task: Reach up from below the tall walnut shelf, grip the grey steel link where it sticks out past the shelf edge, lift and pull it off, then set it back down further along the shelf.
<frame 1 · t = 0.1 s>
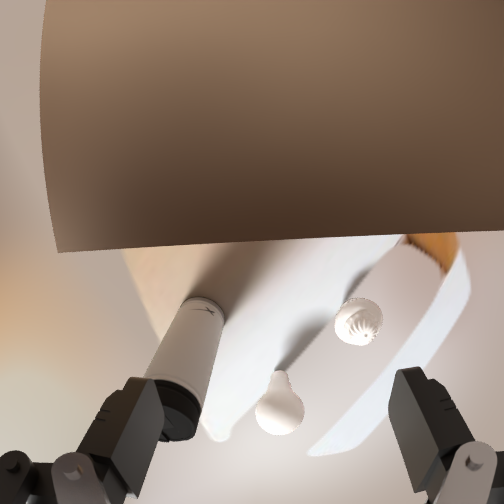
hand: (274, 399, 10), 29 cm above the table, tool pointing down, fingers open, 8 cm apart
white ridged dome: (352, 308, 41), on the table
lightbulb: (279, 372, 45), on the table
shelf: (272, 93, 33), on the table
travel mug: (201, 315, 42), on the table
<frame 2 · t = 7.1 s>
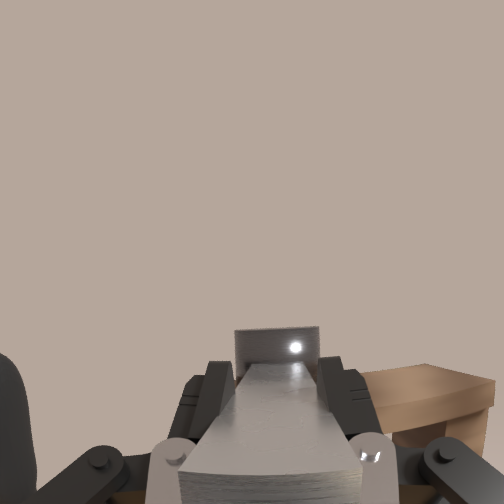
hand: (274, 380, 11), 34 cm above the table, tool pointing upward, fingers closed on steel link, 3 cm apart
steel link: (278, 387, 20), point 32 cm above the table, touching gripper, shelf
when the fingers open (35 cm above the table, at t = 15.4 s): steel link stays where it is, resting on shelf.
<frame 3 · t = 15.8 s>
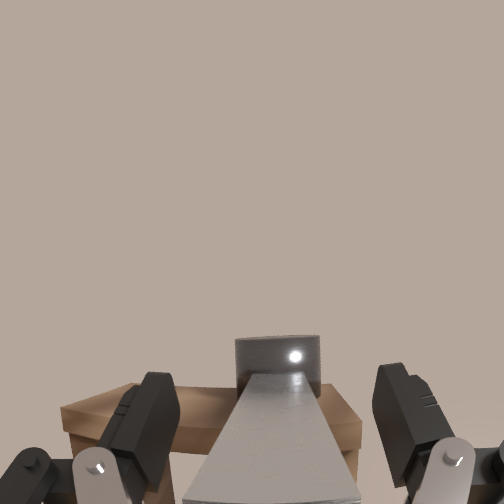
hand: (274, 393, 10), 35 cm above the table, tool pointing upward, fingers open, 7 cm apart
steel link: (279, 395, 20), point 32 cm above the table, touching shelf
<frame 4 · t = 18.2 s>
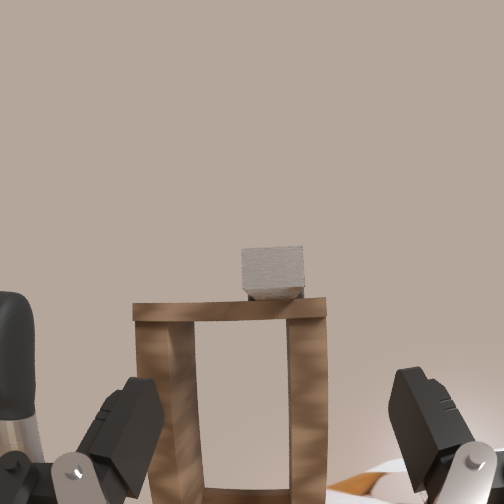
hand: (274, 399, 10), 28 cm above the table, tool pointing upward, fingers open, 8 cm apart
steel link: (276, 304, 32), point 32 cm above the table, touching shelf
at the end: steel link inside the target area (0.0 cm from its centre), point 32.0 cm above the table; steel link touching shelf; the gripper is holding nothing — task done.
